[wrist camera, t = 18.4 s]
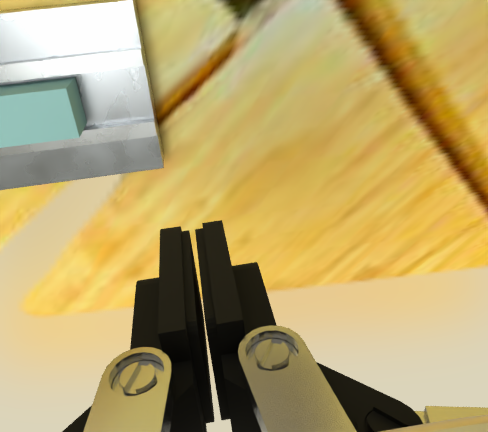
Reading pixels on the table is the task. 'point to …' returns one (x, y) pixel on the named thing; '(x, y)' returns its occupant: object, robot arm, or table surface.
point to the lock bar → (40, 112)
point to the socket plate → (83, 90)
